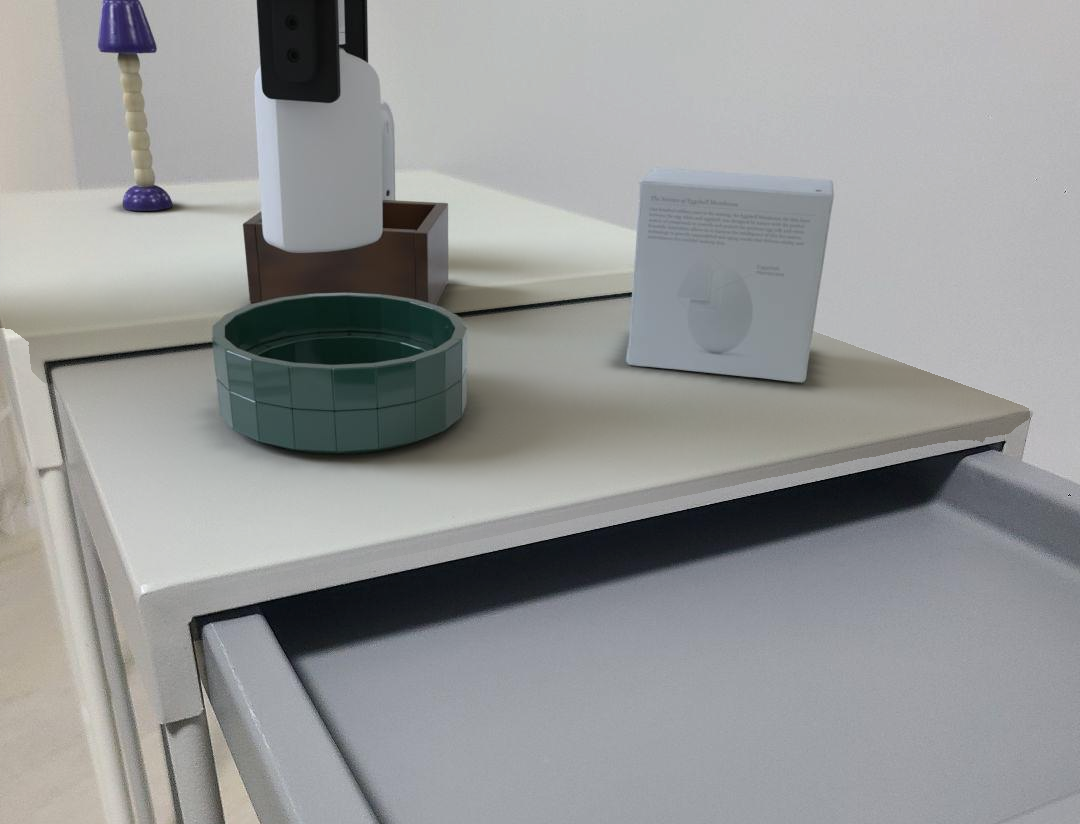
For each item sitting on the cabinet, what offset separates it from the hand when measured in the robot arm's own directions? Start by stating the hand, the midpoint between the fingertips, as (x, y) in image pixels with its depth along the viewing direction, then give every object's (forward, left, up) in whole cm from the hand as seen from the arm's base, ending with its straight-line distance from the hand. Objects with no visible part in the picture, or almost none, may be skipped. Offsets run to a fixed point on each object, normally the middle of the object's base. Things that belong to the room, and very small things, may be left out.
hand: (318, 87), depth 47 cm
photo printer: (-8, +32, -16) cm, 36 cm away
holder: (-4, +21, -15) cm, 26 cm away
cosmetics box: (+20, +12, -16) cm, 28 cm away
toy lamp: (-28, +46, -16) cm, 56 cm away
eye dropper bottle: (0, 0, -7) cm, 7 cm away
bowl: (0, 0, -15) cm, 15 cm away
